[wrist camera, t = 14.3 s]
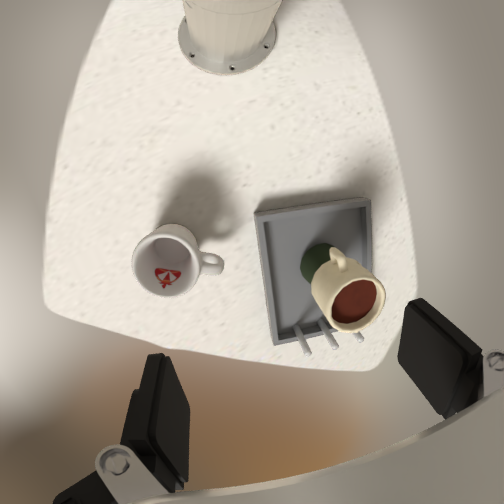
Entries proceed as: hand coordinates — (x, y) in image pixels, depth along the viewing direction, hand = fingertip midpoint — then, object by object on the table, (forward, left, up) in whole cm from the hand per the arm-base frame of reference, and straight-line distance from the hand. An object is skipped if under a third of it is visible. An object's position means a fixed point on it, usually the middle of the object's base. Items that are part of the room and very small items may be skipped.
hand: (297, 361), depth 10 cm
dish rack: (+11, +10, -30) cm, 34 cm away
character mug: (+9, +10, -30) cm, 33 cm away
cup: (+4, -8, -31) cm, 32 cm away
